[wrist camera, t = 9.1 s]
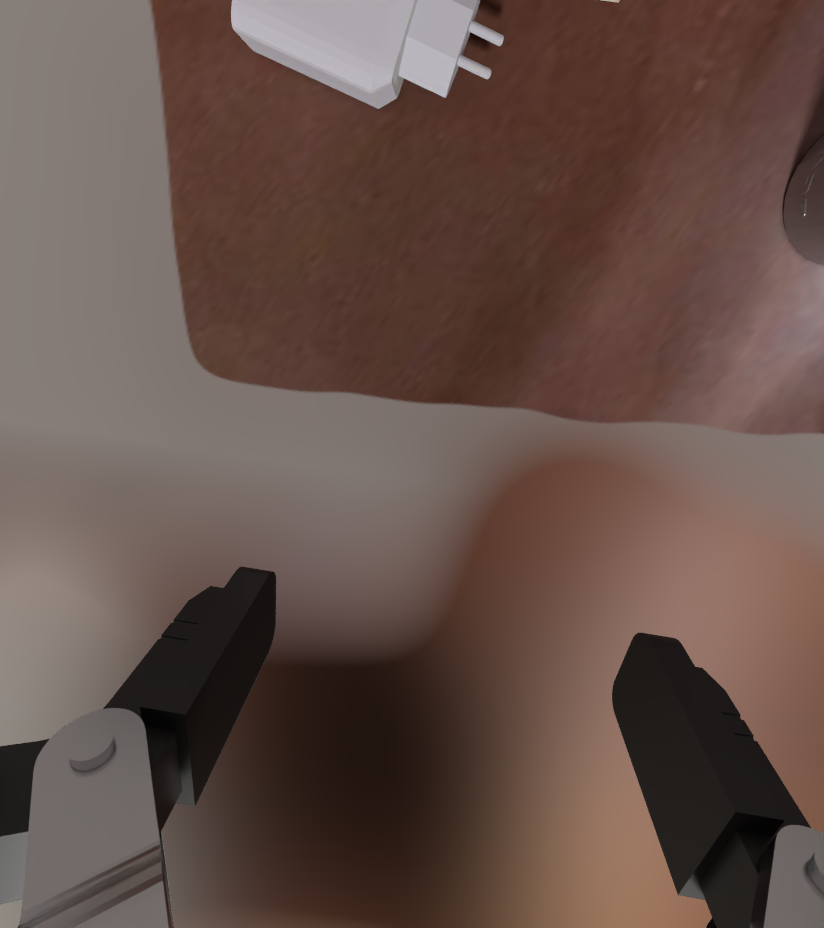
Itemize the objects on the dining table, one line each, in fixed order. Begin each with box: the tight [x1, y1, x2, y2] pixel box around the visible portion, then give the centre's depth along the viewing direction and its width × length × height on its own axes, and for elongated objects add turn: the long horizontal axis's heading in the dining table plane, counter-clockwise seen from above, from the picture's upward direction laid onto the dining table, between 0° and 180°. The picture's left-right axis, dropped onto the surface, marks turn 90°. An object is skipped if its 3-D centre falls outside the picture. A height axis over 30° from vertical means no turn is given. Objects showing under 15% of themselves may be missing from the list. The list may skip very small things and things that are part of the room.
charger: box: [231, 0, 504, 109], centre depth 28 cm, size 5×9×15 cm
